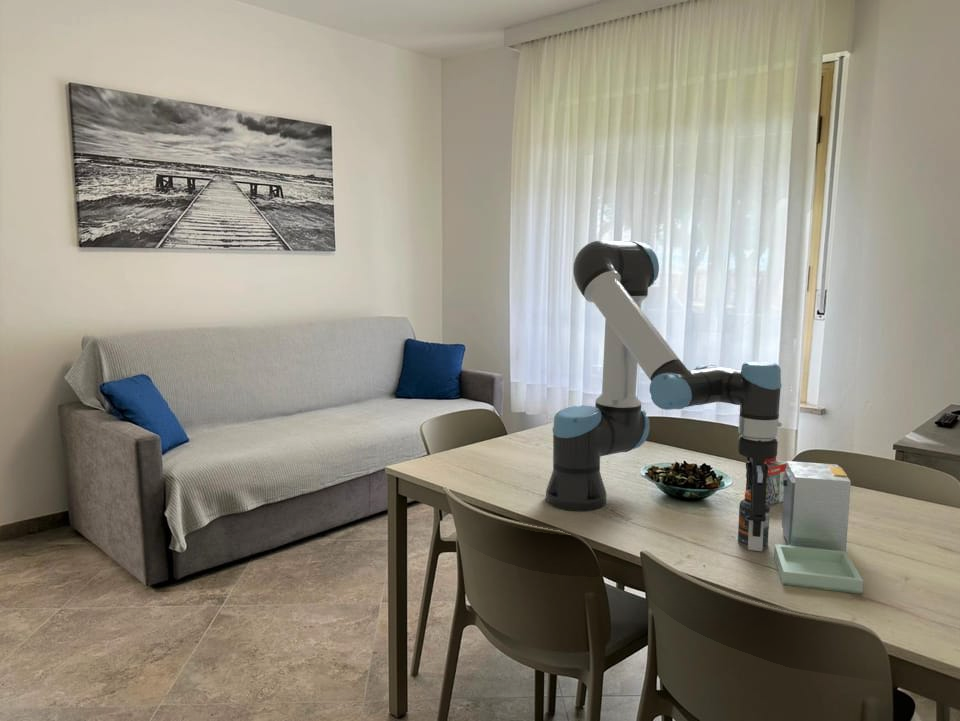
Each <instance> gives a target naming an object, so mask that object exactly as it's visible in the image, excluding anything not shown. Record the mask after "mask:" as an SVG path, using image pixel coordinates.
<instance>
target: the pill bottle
mask: <svg viewBox="0 0 960 721" xmlns="http://www.w3.org/2000/svg"><path fill="white" fill-rule="evenodd" d="M770 507H771V506H769V504H768V503H767V502H766V507H765V517H766V520H765V522H764V527H763V547H762V549H764V548H767V547H768V545H769V533H770V532H769V531H770V530H769V528H770V510H771V509H770ZM750 514H751V490H746V489H745V491H744V499H741V500H740V502H739V509H738V528H737V529H738V530H737V542H738V543H739V544H740V545H741V546H744V547H747V548H748V534H749V520H747V517H750Z"/></svg>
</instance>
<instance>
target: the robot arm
mask: <svg viewBox="0 0 960 721" xmlns="http://www.w3.org/2000/svg"><path fill="white" fill-rule="evenodd" d="M572 268H573V269H572V270H573V271H572V272H573V274H572V275H573V278H574V281H575V282H574V283H575V284H576V286H577V289H578V290H579V291H580V293H581V295H582V296H583V298H584V299H585V300H586V301H587V302H589V303H593V304H594V305H595V306H596V308H597V309H598V311H599V312H600V313H601V314H602V316H603V317H604V318H605V322H604V324H605V325H604V342H603V343H604V345H603V361H602V362H603V363H602V365H603V366H602V382H601V384H602V386H601V394H600V395H599V396H598V397H597V398H596V399H595V406H593V405H579V406H577V405H573V406H569V407H565V408H563V409H560V410H559V411H557V412H556V413H555V415H554V418H553V427H552V443H553V445H552V446H553V449H552V451H553V452H552V453H553V454H552V462H553V463H552V473H551V475H550V478H549V481H548V484H547V487H546V489H545V500H546V503H547V504H549V505H550V506H552V507H554V508H558V509H562V510H566V511H575V512H578V511H579V512H581V511H582V512H583V511H584V512H585V511H593V510H597V509H600V508H602V507H604V506H605V505H607V491H606V488H605V484H604V481H603V478H602V475H601V457H605V456H609V455H614V454H619V453H627V452H630V451H632V450H635V449H637V448H640V447H641V446H642V445H644V443H645V442H646V440H647V438H648V436H649V434H650V419H649V417H648V416H647V412H646V410H644V409H643V408H642V401H641V400H640V399H639V398H638V397H637V377H638V366H639V367H640V368H641V369H642V371H643V372H644V373H645V374H646V376H647V378H648V379H649V380H650V381H651V382H650V385H649V394H650V397H651V398H650V399H651V401H652V402H653V404H654V405H655V406H656V407H658V408H660V409H661V410H667V411H669V410H670V411H671V410H682V409H685V408H689V407H694V406H703V405H709V404H712V403H724V404H725V403H726V404H730V405H736V406H739V416H738V434H739V435H740V436H739V437H738V442H737V443H738V444H737V445H738V446H737V447H738V448H737V453H738V454H739V455H741V456H742V457H744V458H746V460H747V461H745V470H746V473H745V478H746V483H745V491H746V490H751V514H750V517H747V520H749V534H748V547H747V550H748V551H757V552H763V548H762V547H763V527H764V522H765V520H766V517H765V507H766V486H767V477H768V475H767V474H768V466H766V463H765V462H764V460H766V459H772V458H775V457H776V458H777V456H778V446H779V440H778V439H777V437H778V436H779V428H778V427H782V425H783V424H782V422H781V421H780V419H779V417H780V400H781V390H782V389H781V388H782V372H781V366H780V365H779V364H777V363H775V362H771V361H759V360H758V361H755V360H754V361H746V362H743V363H742V364H741V369H738V368H730V367H724V366H717V365H715V364H711V365H705V364H701V365H697V366H696V367H695V368H694V369H691V370H689V369H688V368H687V367H686V365H684V363H683V362H682V361H681V359H680V358H679V357H678V356H677V354H676V353H675V351H674V350H673V349H672V347H670V346H671V345H669V344H668V342H667V341H666V340H665V338H664V337H663V335H662V334H661V333H660V332H659V331H658V329H657V328H656V327H655V326H654V324H653V323H652V322H651V321H650V319H649V318H648V317H647V315H646V314H645V312H644V311H643V310H642V309H641V307H642V305H641V304H642V303H643V301H644V300H645V299H647V298H648V295H649V294H648V293H649V288H650V287H652V286H653V285H654V284H655V281H656V280H658V277H659V273H660V272H659V271H660V263H659V259H658V256H657V254H656V253H655V251H654V250H653V249H652V247H650V245H648V244H647V243H644V242H639V241H635V240H634V241H632V240H595V241H591V242H589V243H587V244H586V245H585V246H583V247H582V248H581V249H580V250H579V252H578V253H577V255H576V256H575V259H574V263H573V267H572Z"/></svg>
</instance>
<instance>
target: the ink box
mask: <svg viewBox="0 0 960 721" xmlns="http://www.w3.org/2000/svg"><path fill="white" fill-rule="evenodd" d="M764 462H765V463H766V466H768V474H767V475H768V477H767V486H766V502H767V503H768V504H769V507H771V506H773V505H777V504H778V503H783V494H784V486H783V479H784V477H785V469H786V464H787V461H783V460H778V459H777V456H776V457H775V458H772V459H766V460H764Z"/></svg>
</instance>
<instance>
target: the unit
mask: <svg viewBox="0 0 960 721" xmlns="http://www.w3.org/2000/svg"><path fill="white" fill-rule="evenodd" d="M786 462H787V464H786V469H785V477H784V479H783V486H784V494H783V502H782V518H781V529H782V534H783V535H784V539H785V541H786V544H787V545H788V546H797V547H807V548H817V549H826V550H836V551H845V552H847V545H848V531H849V530H848V529H849V528H848V527H849V516H850V515H849V514H850V501H851V500H850V499H851V498H850V497H851V483H852V481H851V480H850V478H849V477H848V475H847V473H846V472H845V471H844V469H843V468H842V467H841V466H839V465H838V464H834V463H833V464H832V463H822V462H821V463H820V462H819V463H818V462H806V461H805V462H804V461H792V460H787V461H786Z"/></svg>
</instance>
